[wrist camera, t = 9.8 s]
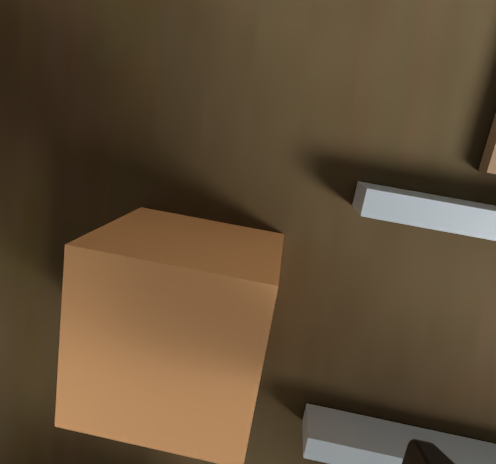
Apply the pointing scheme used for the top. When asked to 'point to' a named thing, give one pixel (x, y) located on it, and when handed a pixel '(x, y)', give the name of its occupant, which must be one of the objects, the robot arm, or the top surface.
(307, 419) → the channel
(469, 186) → the top surface
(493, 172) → the coaster
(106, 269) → the block
